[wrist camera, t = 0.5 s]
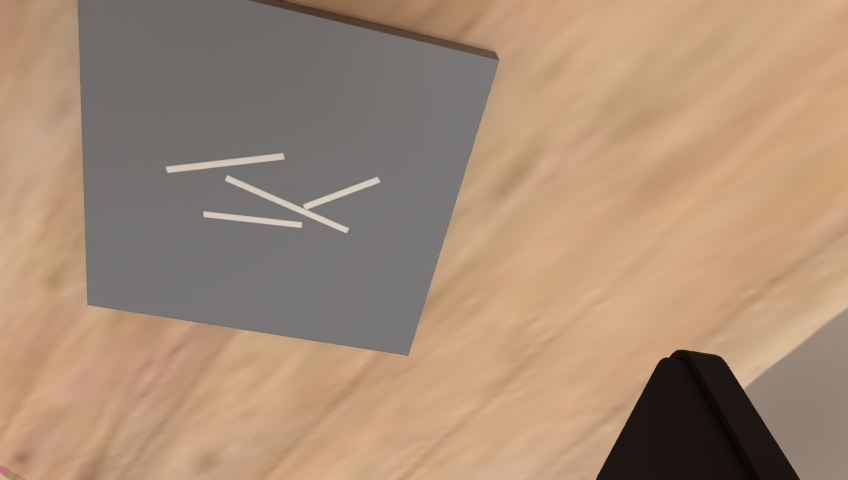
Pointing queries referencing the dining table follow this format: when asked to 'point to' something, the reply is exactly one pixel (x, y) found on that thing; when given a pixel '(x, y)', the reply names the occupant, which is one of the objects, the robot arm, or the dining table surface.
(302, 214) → the board
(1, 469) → the candy landscape model
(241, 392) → the dining table surface
